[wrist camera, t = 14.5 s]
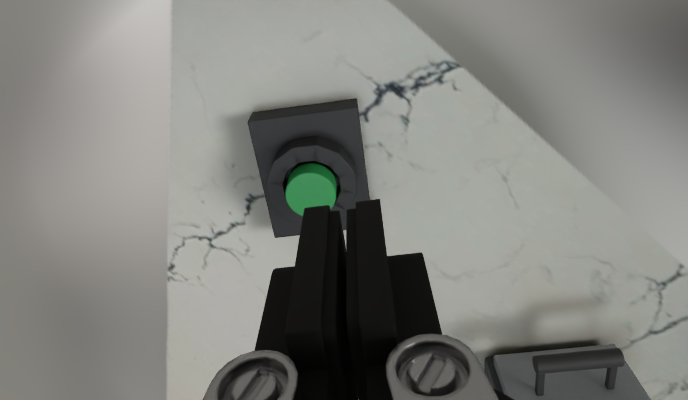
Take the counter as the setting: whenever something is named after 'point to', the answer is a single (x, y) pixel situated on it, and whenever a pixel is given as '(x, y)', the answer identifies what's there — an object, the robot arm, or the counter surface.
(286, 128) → the control block
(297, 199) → the button
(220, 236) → the counter surface
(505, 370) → the drawer
